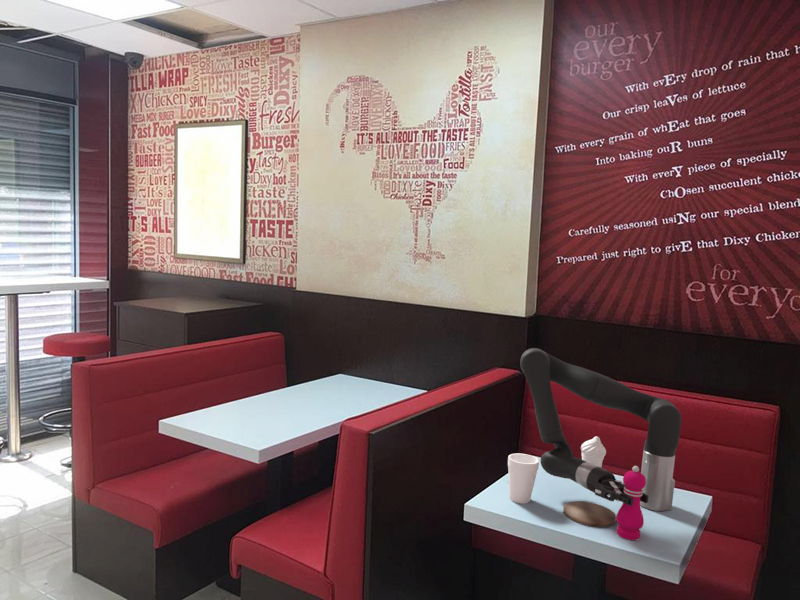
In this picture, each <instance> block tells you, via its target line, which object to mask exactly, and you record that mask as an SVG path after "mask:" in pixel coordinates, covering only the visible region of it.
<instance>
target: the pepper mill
mask: <svg viewBox="0 0 800 600" xmlns="http://www.w3.org/2000/svg"><path fill="white" fill-rule="evenodd" d="M622 482H623V483H624V484H625V487H624V493H625V494H626V495H628V496H630V497H632V498H633V505H632V506H629V505H627V504H625V503H623V502H622V504H621V507H620V508H619V509H618V511H617V514H616V521H615V522H616V523H617V524H618V525H617V527H616V535H617V536H618V537H620V538H622V539H625V540H629V541H637V540H640V539H641V530H640V529H642V528H643V526H644V522H645V519H644V514H643V512H642V508H641V505H640V498H641V496H642V495H643V494H642V492H643V490H642V489H643V488H644V487H645V485H646V479H645V476H644V475H643V474H642V473H641V471H640V467H639V466H638V465H634V466H632V468H631V470H628V471H626V472H625V473H624V475H623V477H622Z"/></svg>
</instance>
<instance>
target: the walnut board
mask: <svg viewBox="0 0 800 600" xmlns="http://www.w3.org/2000/svg"><path fill="white" fill-rule="evenodd" d="M562 511H563V515H564V516H565V517H567V519H568V520H570V521H573V522H574V523H577V524H580V525H584V526H587V525H588V526H587V527H593V526H594V528H595V527H596V528H604V527H606V528H607V527H610V526H613V525H614V524H615V523H616V522H617V521H616V517H617V514H616V513H615V512H614V511H613V510H611V509H610V508H608V507H606V506H604V505H601V504H598V503H594V502H589V501H579V500H578V501H569V502H566V504H564V505H563V510H562Z"/></svg>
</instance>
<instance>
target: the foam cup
mask: <svg viewBox="0 0 800 600" xmlns="http://www.w3.org/2000/svg"><path fill="white" fill-rule="evenodd" d="M539 466H540V459H539V457H536V456H534V455H530V454H526V453H520V452H518V453H511V454H509V455H508V457H507V469H508V470H507V471H508V493H509V494H508V495H509V500H510V501H512V502H513V501H514V502H513V503H516V502H517V504H523V503H524V504H529V503H530V502H531V499H532V493H533V491H534V486H535V482H536V479H537V477H536V476H537V473H538V470H539ZM528 502H529V503H528Z"/></svg>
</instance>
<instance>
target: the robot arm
mask: <svg viewBox="0 0 800 600" xmlns="http://www.w3.org/2000/svg"><path fill="white" fill-rule="evenodd" d="M519 363H520V365H519V366H520V369H521V371H522V373H523V375H524V377H525V379H526V381H527V383H528V386H529V389H530V392H531V396H532V401H533V406H534V412H535V418H536V423H537V429H538V431H539V436H540V439H541V441H542V443H544V444H553V445H554V449H551V450H548V451H545V452H544V453H543V454H542V455H541V456H540V459H539V462H540V465H541V467H542V469H543V470H544V471H545V472H546V473H547V474H549V475H551V476H553V477H556V478H557V477H558V478H562V479H568V480H571V481H572V482H574V483H576V484H579V485H580V486H581V487H583V488H584V489H586V490H588V491H591V492H592V493H594V496H597V497H600V498H602V499H605V500H607V501H610V502H614V501H616V502H621V503H622V504H623V503H625V504H627V505H629V506H632V505H633V498H632V497H630V496H628V495H626V494H625V493H624V487H625V484H624V483H623V481H621V480H618V479H616V477H615V475H614V473H613V472H611V471H609V470H607V469H605V468H603V467H602V466H601V467H602V468H601V467H599V466H597V465H594V464H591V463H588V462H586V461H584V460H582V458H579V457H575V456H574V453H573V451H572V449H571V446H570V445H569V444H568V440H566V437H565V435H564V433H563V429H562V425H561V420H560V416H559V414H558V409H557V406H556V403H555V399H554V397H553V396H554V395H553V392H552V384H551V382H552V383H555V384H557V385H560V386H561V387H562V388H564V389H566V390H568V391H570V392H571V393H573V394H574V395H576V396H578V397H581V398H582V399H584V400H586V401H588V402H590V403H593V404H595V405H598V406H601V407H603V408H608V409H614V410H619V411H624V412H628V413H629V414H633V415H635V416H637V417H638V418H641V419H642V420H643V421H646V422H648V427H647V428H648V429H647V434H646V435H647V436H646V439H645V441H644V444H643V452H642V460H641V469H640V473H642V474H643V475H644V476H645V479H646V485H645V487H644V488H643V489H642V490H643V492H642V494H643V495H642V496H641V498H640V507H643V508H645V509H647V510H651V511H655V512H656V511H658V512H665V511H669V510H672V508H673V499H674V493H675V492H674V491H675V483H676V480H675V479H674V478H673V476H674V469H675V459H676V451H677V449H678V446H679V443H680V436H681V430H682V415H681V412H680V410H679V409H678V408H677V407H676V406H675V405H674V404H673V402H671V401H669V400H667V399H664V398H661V397H657V396H654V395H650V394H647V393H645V392H644V393H643V392H641V391H639V390H636V389H634V388H632V387H629V386H628V385H625V384H623V383H622V382H619V381H617V380H616V379H613V378H611V377H609V376H606V375H604V374H601V373H599V372H595V371H592V370H590V369H588V368H584V367H581V366H579V365H578V366H577V365H574V364H571V363H568V362H565V361H563V360H561V359H559V358H557V357H555V356H553V355H551V354H549V353H548V352H546V351H545V350H542V349H541V348H538V347H532V348H528V349H526V350H525V351H524V352H523V353H522V355H521V357H520V362H519Z"/></svg>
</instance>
